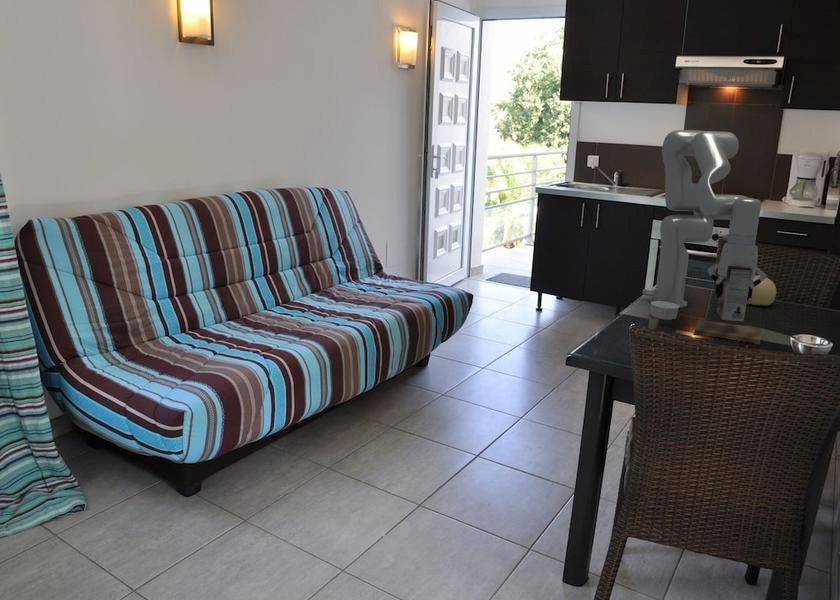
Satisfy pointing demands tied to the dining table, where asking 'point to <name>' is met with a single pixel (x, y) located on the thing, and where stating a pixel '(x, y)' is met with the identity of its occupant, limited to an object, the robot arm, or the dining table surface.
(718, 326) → the walnut board
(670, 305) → the ramekin
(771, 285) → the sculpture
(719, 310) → the coffee box
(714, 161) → the robot arm
